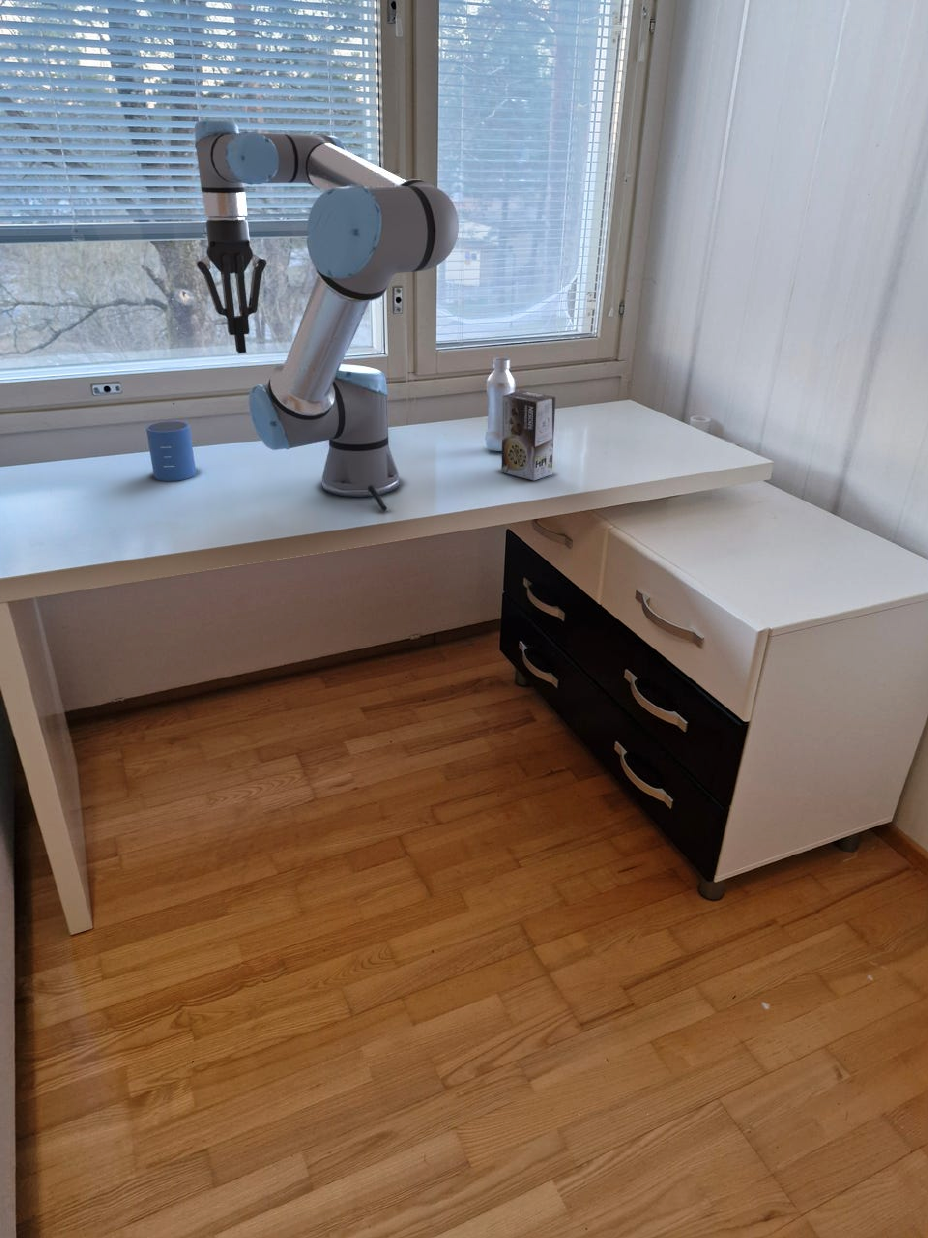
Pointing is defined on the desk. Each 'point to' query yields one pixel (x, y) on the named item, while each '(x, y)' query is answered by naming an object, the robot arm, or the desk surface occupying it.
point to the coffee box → (527, 434)
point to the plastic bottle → (497, 400)
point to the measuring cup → (171, 450)
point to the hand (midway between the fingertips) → (241, 351)
